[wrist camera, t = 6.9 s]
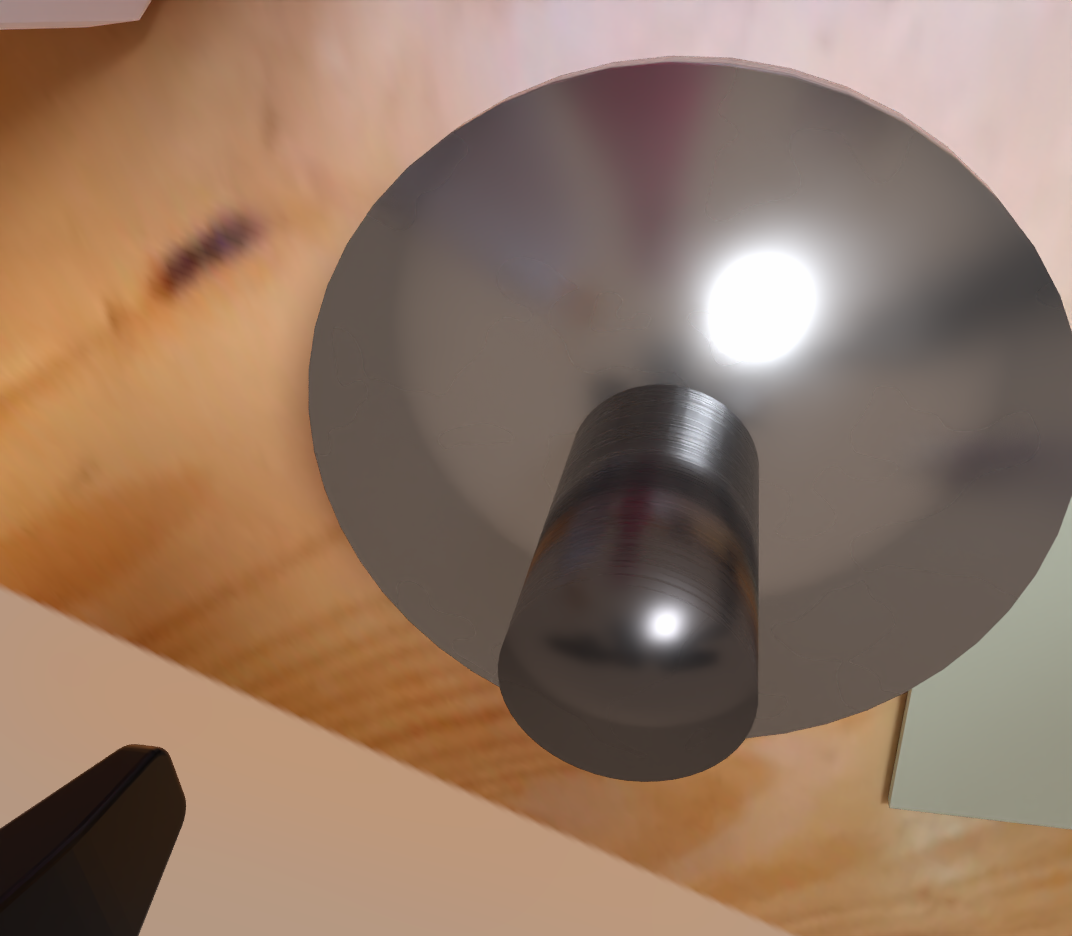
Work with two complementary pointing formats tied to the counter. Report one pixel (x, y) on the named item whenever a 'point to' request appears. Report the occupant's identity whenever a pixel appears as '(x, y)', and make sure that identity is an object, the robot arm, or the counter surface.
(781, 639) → the lid
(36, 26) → the soap bottle
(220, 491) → the counter surface
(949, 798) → the mat
